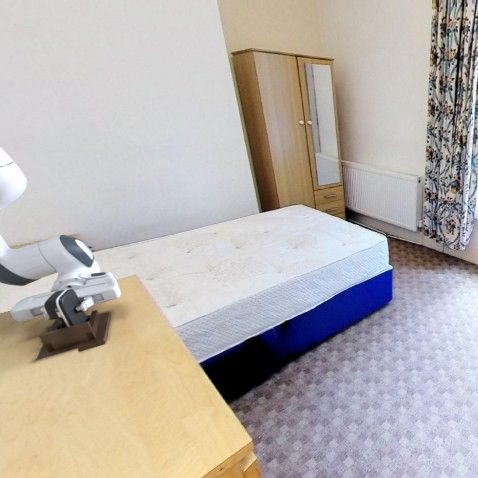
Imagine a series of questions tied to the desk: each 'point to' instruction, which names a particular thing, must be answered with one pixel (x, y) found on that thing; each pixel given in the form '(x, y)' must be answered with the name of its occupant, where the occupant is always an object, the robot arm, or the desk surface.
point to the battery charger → (65, 308)
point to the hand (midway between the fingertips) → (65, 313)
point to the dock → (75, 335)
